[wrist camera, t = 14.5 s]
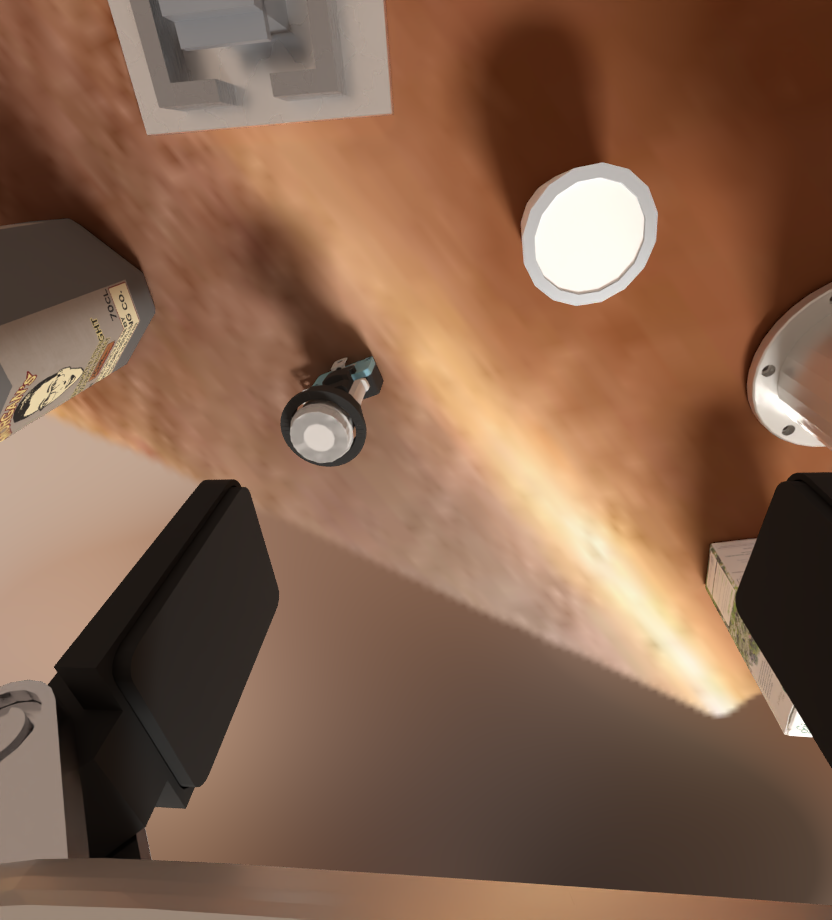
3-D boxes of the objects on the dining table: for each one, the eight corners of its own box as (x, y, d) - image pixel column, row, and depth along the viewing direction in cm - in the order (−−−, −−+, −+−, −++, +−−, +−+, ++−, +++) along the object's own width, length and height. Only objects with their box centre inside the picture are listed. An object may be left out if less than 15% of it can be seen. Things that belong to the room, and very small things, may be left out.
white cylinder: (505, 278, 34) (514, 304, 28) (517, 160, 30) (531, 161, 24) (607, 281, 33) (639, 308, 27) (633, 162, 30) (676, 163, 24)
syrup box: (769, 581, 46) (883, 737, 33) (701, 587, 47) (786, 741, 34) (779, 534, 43) (907, 686, 31) (706, 541, 44) (801, 691, 32)
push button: (320, 419, 40) (283, 489, 32) (289, 361, 38) (240, 420, 29) (395, 394, 39) (376, 461, 30) (367, 332, 36) (338, 385, 28)
